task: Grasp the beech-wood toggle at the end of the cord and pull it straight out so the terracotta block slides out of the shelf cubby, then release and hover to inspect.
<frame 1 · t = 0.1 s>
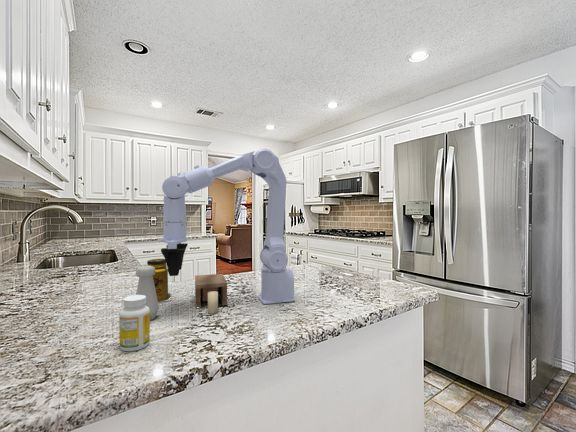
hand: (175, 272, 79), 10 cm above the countertop, tool pointing down, fingers open, 7 cm apart
supplement bottle: (135, 346, 58), on the countertop
salt shaker: (146, 319, 73), on the countertop
condiment: (157, 299, 89), on the countertop
shelf cubby: (210, 300, 87), on the countertop
cord block: (211, 295, 83), point 3 cm above the countertop, slide at 0.0 cm
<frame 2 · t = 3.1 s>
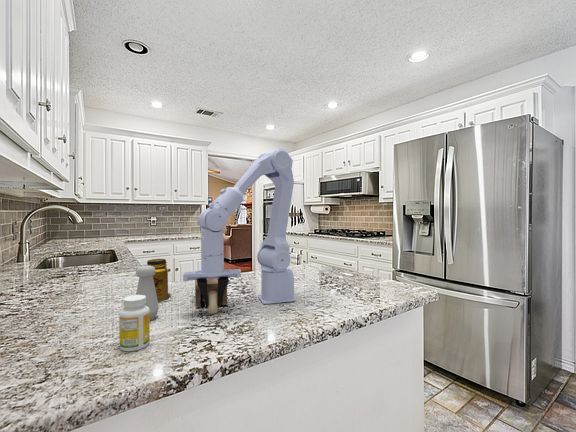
hand: (212, 306, 77), 2 cm above the countertop, tool pointing down, fingers closed on cord block, 3 cm apart
cord block: (211, 295, 83), point 3 cm above the countertop, slide at 0.0 cm, touching gripper
everything else where it was.
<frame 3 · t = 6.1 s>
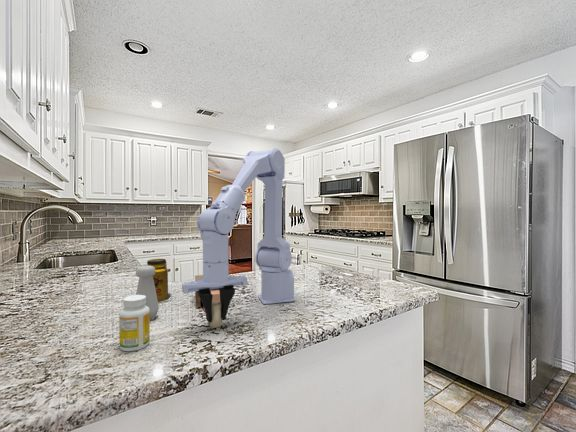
hand: (216, 319, 68), 2 cm above the countertop, tool pointing down, fingers closed on cord block, 2 cm apart
cord block: (213, 305, 74), point 3 cm above the countertop, slide at 9.5 cm, touching gripper
everything else where it was.
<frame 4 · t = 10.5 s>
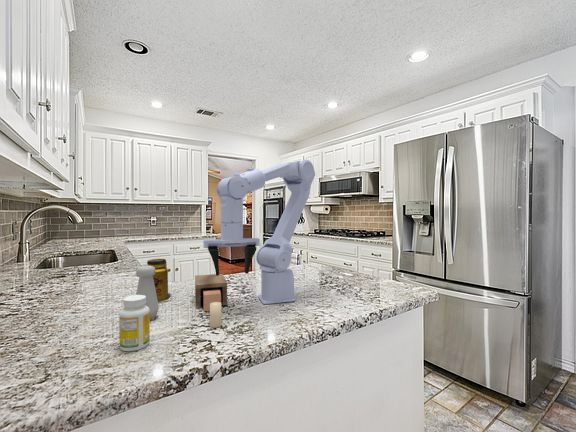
hand: (232, 273, 78), 10 cm above the countertop, tool pointing down, fingers open, 7 cm apart
cord block: (213, 305, 74), point 3 cm above the countertop, slide at 9.5 cm
everything else where it was.
at the end: cord block slide at 9.5 cm; cord block inside the target area (1.0 cm from its centre), on the countertop; the gripper is holding nothing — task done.
